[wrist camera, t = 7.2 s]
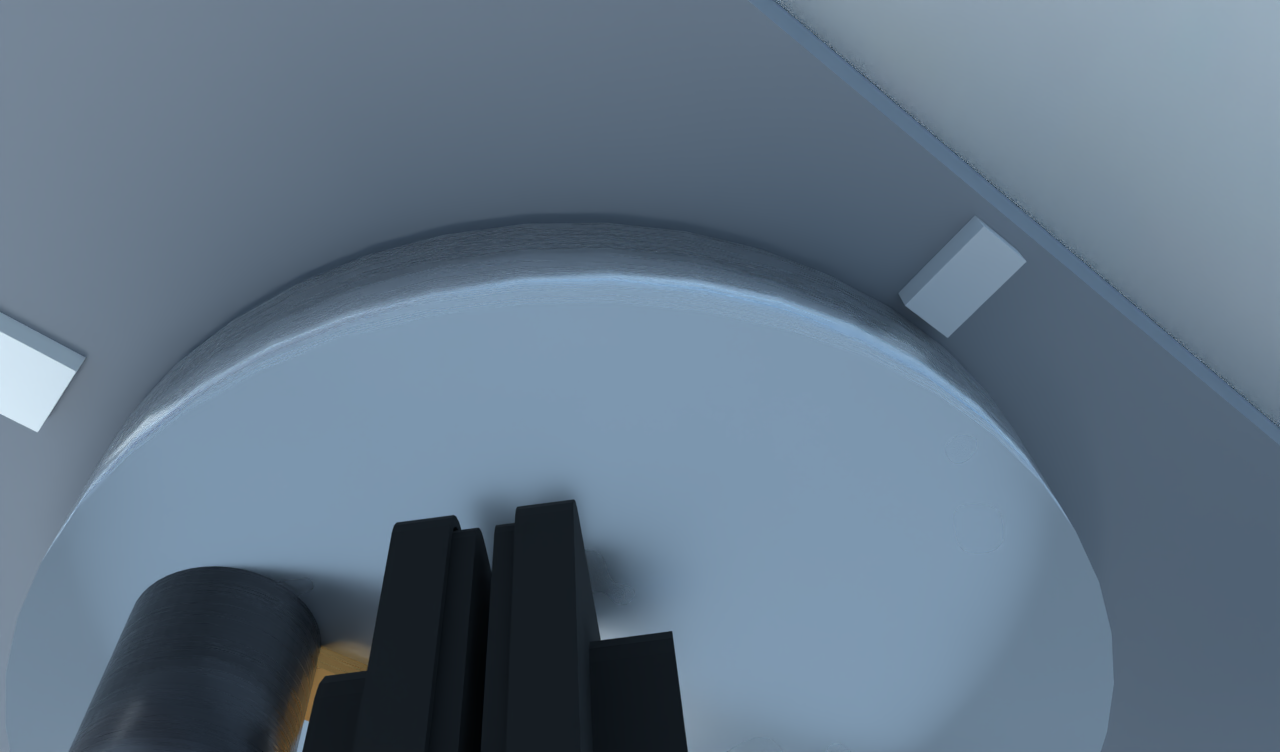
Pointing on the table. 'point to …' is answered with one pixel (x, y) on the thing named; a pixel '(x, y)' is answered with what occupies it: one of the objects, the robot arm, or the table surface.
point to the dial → (604, 494)
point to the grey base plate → (598, 193)
